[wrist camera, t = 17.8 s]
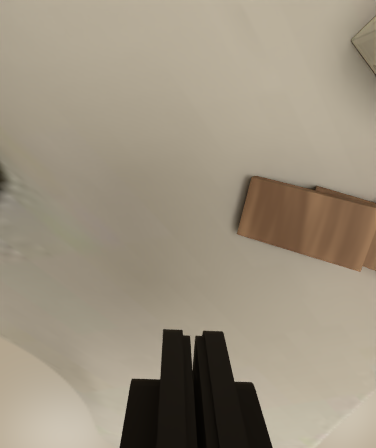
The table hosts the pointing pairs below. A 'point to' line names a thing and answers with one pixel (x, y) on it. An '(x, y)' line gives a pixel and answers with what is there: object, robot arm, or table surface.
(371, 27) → the small box
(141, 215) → the table surface
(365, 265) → the domino
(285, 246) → the domino
